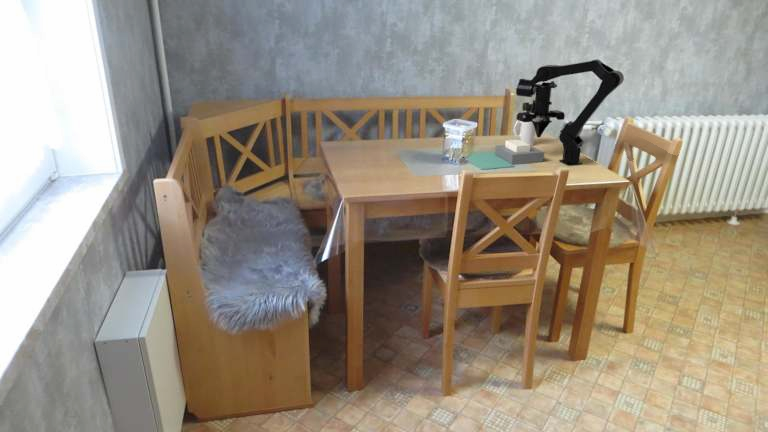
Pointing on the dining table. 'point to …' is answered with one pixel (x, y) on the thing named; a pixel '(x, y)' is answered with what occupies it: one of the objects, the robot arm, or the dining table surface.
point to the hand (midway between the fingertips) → (538, 137)
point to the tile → (517, 146)
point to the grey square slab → (519, 155)
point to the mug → (525, 132)
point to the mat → (488, 161)
